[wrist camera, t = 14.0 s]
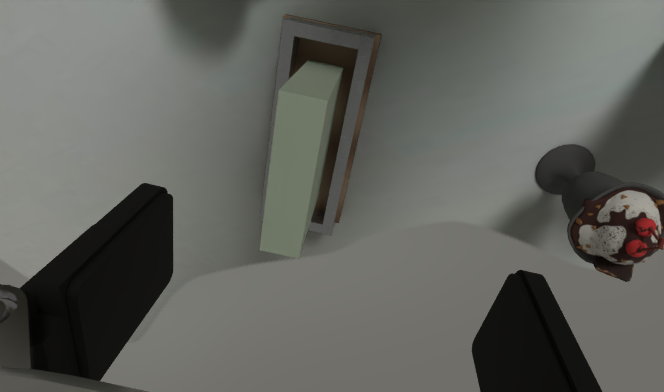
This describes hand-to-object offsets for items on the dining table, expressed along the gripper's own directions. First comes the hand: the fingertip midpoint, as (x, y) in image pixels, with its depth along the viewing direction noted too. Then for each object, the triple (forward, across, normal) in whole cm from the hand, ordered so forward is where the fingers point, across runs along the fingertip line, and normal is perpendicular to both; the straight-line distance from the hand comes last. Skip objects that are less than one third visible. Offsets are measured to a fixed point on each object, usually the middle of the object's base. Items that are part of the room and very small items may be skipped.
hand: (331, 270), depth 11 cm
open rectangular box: (+27, +4, +6) cm, 28 cm away
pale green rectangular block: (+26, +4, +6) cm, 27 cm away
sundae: (+28, -19, +5) cm, 34 cm away
